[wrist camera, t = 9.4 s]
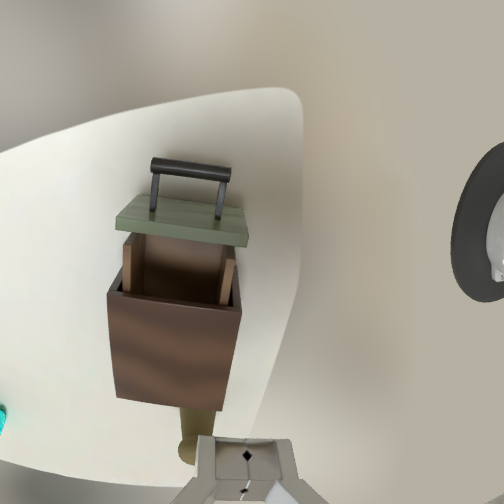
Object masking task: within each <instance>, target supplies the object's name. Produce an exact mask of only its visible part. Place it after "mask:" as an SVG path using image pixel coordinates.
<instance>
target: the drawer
mask: <svg viewBox="0 0 504 504" xmlns="http://www.w3.org/2000/svg"><path fill="white" fill-rule="evenodd" d="M231 170H232V168H231V167H226V166H220V165H213V164H206V163H198V162H191V161H183V160H175V159H167V158H158V157H153V158H152V161H151V167H150V171H151V173H153V176H152V186H151V196H145V195H137V196H136V197H135V198H134V199H133V200H132V201H131V202H130V203H129V204H128V205H127V206H126V207H125V208H124V209H123V210H122V211H121V212H120V213H119V214H118V215H117V216H116V226H115V230H120V231H127V232H132V233H131V234H130V235H129V237H128V238H127V240H126V241H125V243H124V244H123V292H125V293H132V294H138V295H145V296H151V297H158V298H165V299H172V300H180V301H187V302H195V303H203V304H211V305H219V306H228V300H229V294H230V289H231V283H232V277H233V272H234V266H235V261H236V259H235V249H234V246H238V247H245V248H246V247H247V242H248V237H249V234H248V229H247V225H246V220H245V215H244V211H243V209H241V208H234V207H227V206H223V203H224V197H225V191H226V185H227V183H229V182H230V177H231ZM160 174H167V175H175V176H183V177H191V178H198V179H205V180H212V181H219V182H220V184H219V190H218V197H217V203H216V205H213V204H206V203H199V202H192V201H184V200H177V199H169V198H161V197H158V189H159V180H160Z"/></svg>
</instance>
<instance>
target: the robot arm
mask: <svg viewBox="0 0 504 504" xmlns="http://www.w3.org/2000/svg"><path fill="white" fill-rule="evenodd" d="M486 248H487V254H488V257H489V260H490V262H491V266H492V269H491V275H492V279H493V280H495V281H496V282H500V281H504V193H503V194H502V196H501V197H500V199H499V200H498V202H497V204H496V206H495V208H494V210H493V212H492V215H491V218H490V221H489V225H488V230H487V237H486ZM215 500H226V501H265V504H328V502H326V501H325V500H324V499H323V498H322V497H321V496H320V495H319V494H318V493H317V492H316V491H315V490H314V489H312V488H311V487H310V486H309V485H308V484H307V483H306V482H305V481H304V480H303V479H299V478H298V473H297V468H296V463H295V459H294V454H293V449H292V444H291V441H290V440H289V439H248V438H245V439H242V438H226V437H214V436H204V435H198V443H197V450H196V460H195V477H193V478H192V479H191V480H190V481H189V482H188V484H187V485H186V486H185V487H184V488H183V489H182V491H181V492H180V493H179V494H178V495H177V496H176V497H175V499H174V500H173V501H172V502H171V503H170V504H213V503H214V501H215ZM486 504H504V493H503V494H502V495H500V496H498V497H497V498H495V499H493V500H491V501H489V502H487V503H486Z"/></svg>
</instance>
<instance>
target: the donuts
mask: <svg viewBox="0 0 504 504" xmlns="http://www.w3.org/2000/svg"><path fill="white" fill-rule="evenodd" d="M4 423H5V414H4V412H3V411H2V410H0V434H1V432H2V429H3V426H4Z"/></svg>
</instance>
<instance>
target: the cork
mask: <svg viewBox="0 0 504 504" xmlns="http://www.w3.org/2000/svg"><path fill="white" fill-rule="evenodd" d="M215 414H216V411H210V410H199V409H190V408H181V407H180V417H181V428H182V439H183V440H182V441H181V442H180V444H179V447H178V453H179V457H180V458H181V460H182V461H183V462H185V463H187V464H190V465H194V466H195V460H196V450H197V443H198V435H204V436H212V433H213V427H214V421H215Z"/></svg>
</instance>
